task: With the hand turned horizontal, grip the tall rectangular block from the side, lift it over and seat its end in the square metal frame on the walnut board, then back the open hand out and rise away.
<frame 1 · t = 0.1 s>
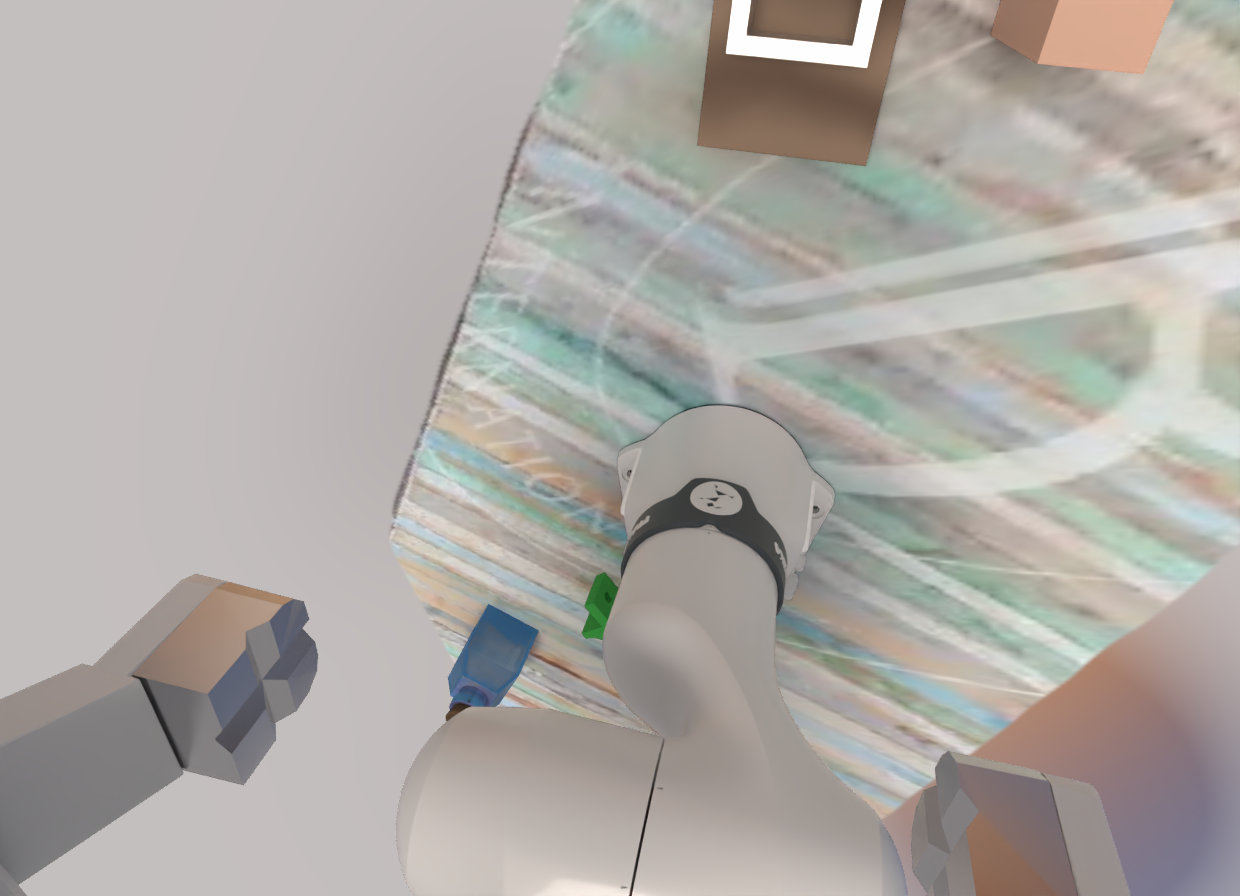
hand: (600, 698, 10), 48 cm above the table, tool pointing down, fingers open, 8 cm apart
perfume bottle: (504, 631, 85), on the table
pipe clamp: (622, 611, 79), on the table
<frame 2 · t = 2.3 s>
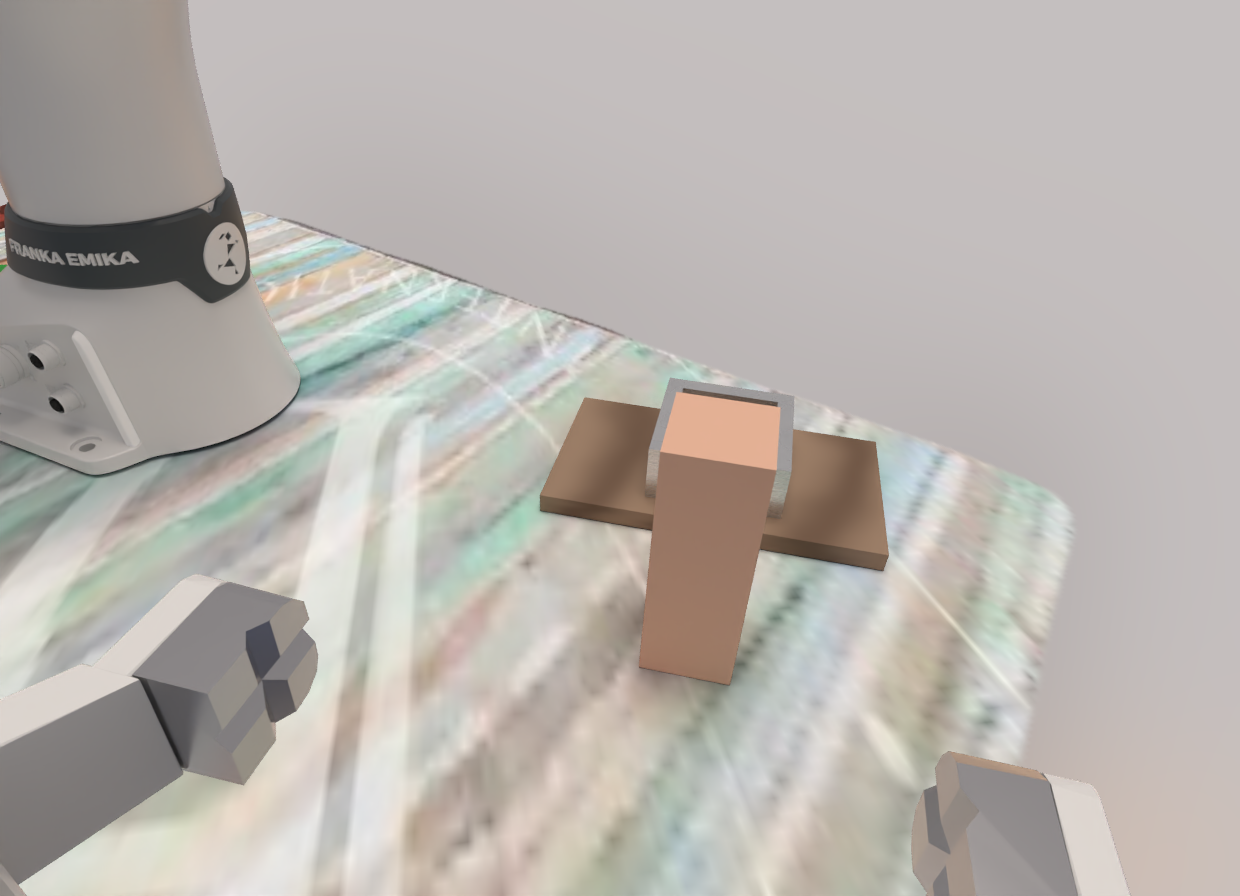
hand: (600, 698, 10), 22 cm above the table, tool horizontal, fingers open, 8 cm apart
tall rectangular block: (689, 640, 38), on the table
square metal frame: (718, 466, 47), resting on holder base
holder base: (716, 481, 48), on the table
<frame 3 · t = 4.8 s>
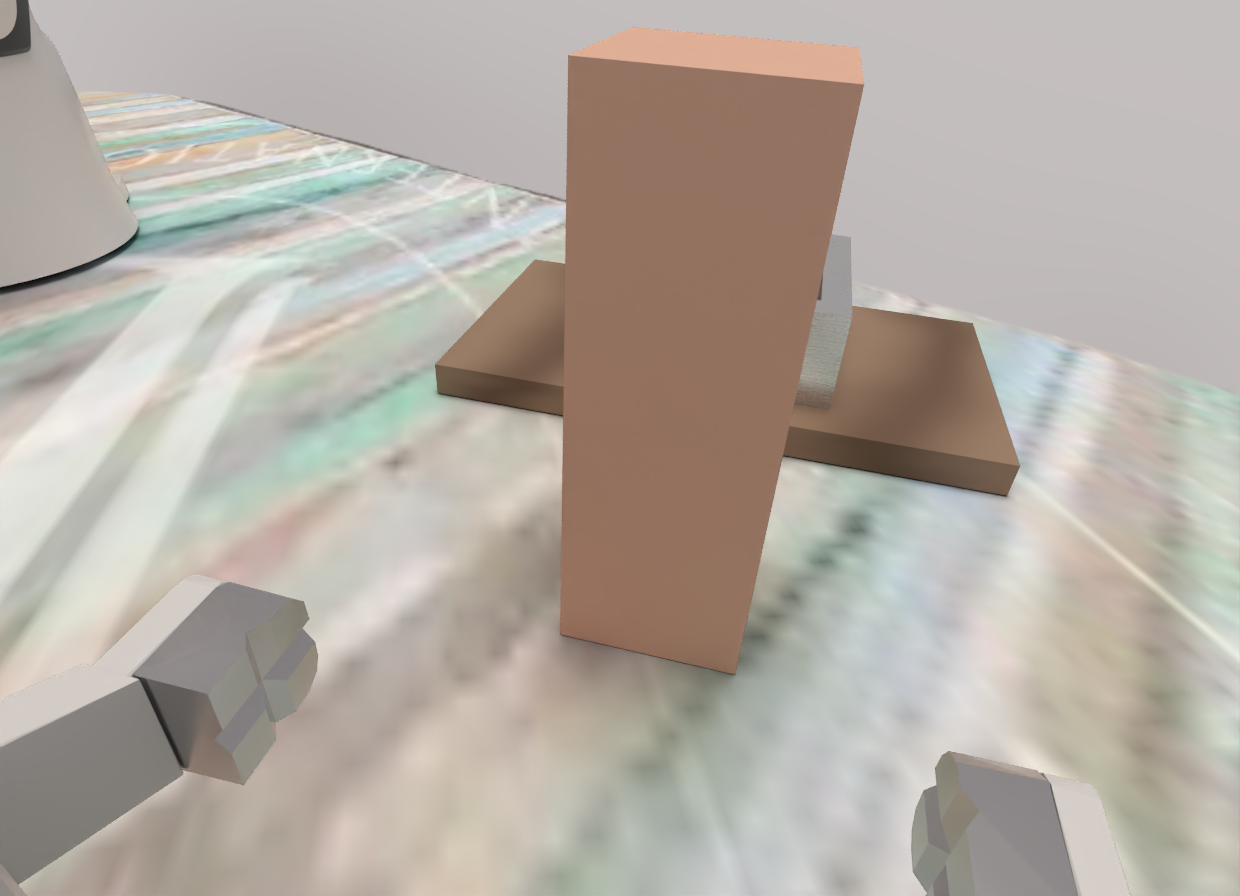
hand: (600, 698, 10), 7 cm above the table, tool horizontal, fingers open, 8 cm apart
tall rectangular block: (663, 591, 20), on the table
square metal frame: (728, 341, 30), resting on holder base
holder base: (724, 368, 31), on the table
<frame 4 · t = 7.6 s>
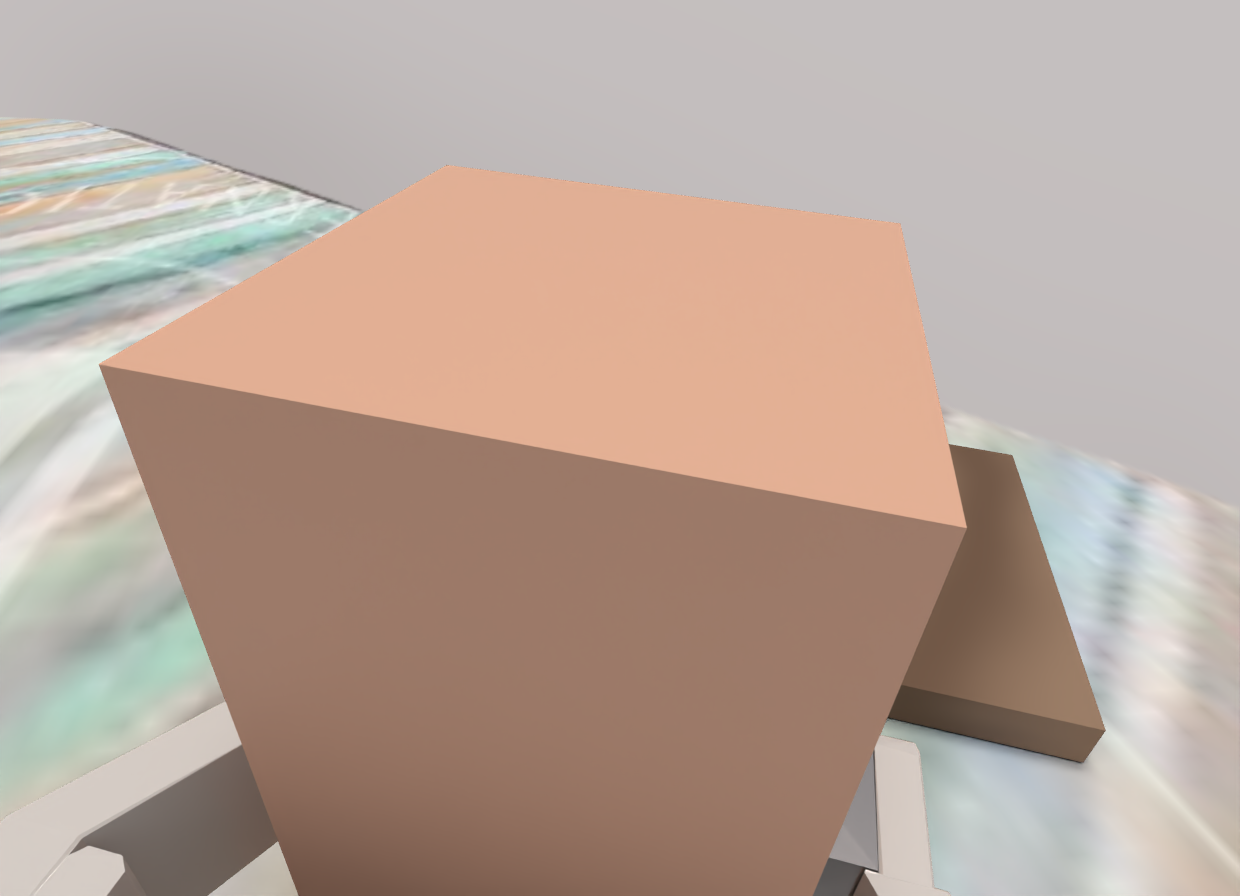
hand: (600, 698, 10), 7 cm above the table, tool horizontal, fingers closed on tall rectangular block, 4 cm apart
holder base: (690, 525, 23), on the table
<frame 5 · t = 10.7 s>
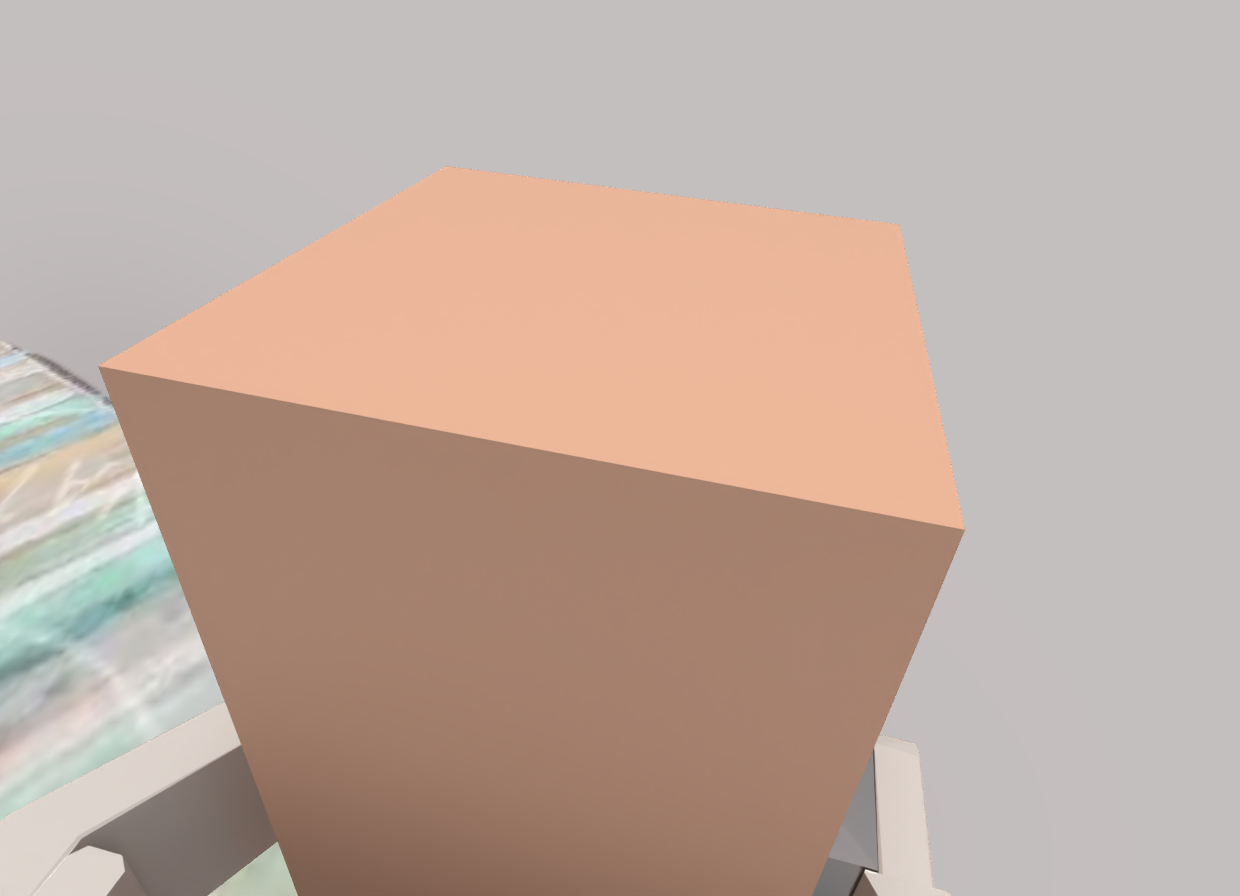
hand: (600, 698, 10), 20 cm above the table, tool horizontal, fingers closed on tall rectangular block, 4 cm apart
when the fingers open (10 cm above the table, at t = 13.9 s): tall rectangular block drops 1 cm, resting on holder base.
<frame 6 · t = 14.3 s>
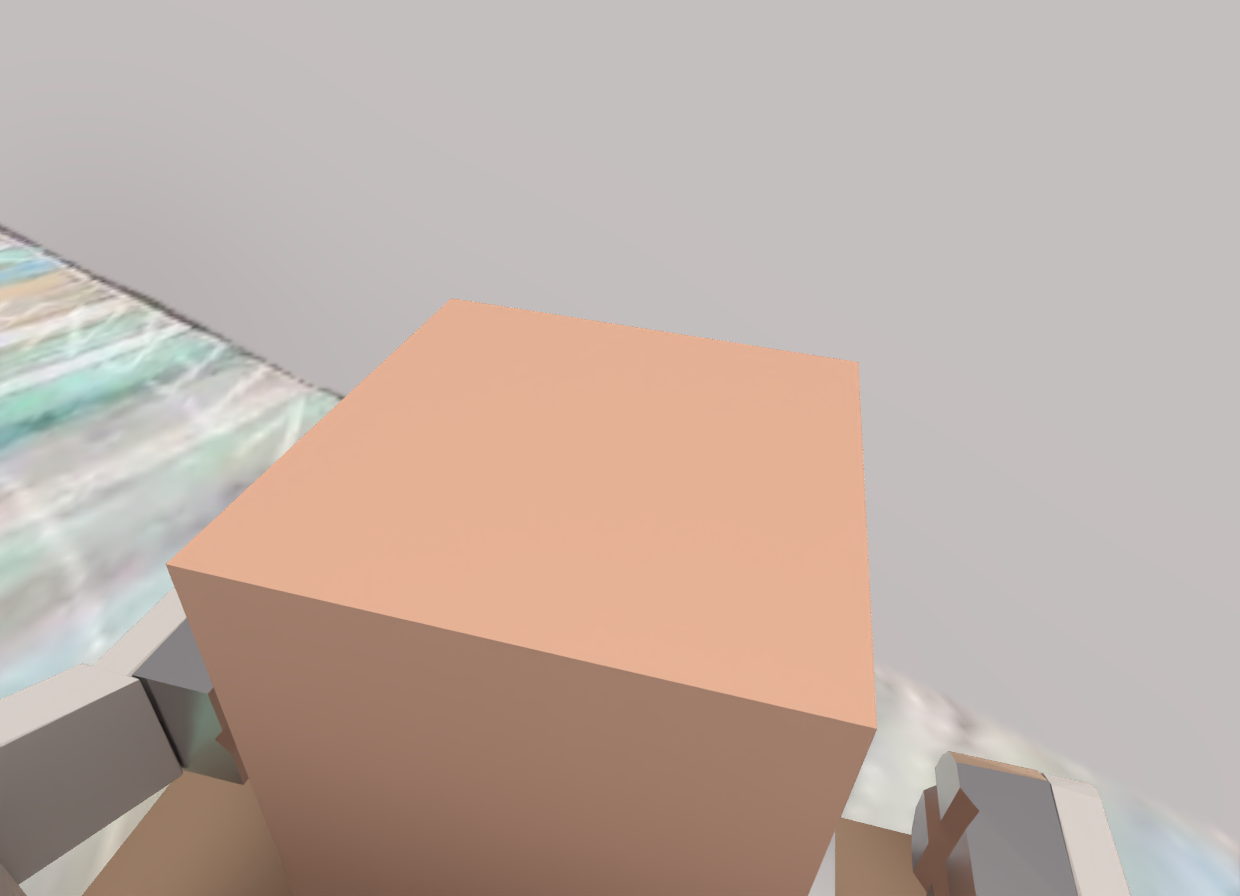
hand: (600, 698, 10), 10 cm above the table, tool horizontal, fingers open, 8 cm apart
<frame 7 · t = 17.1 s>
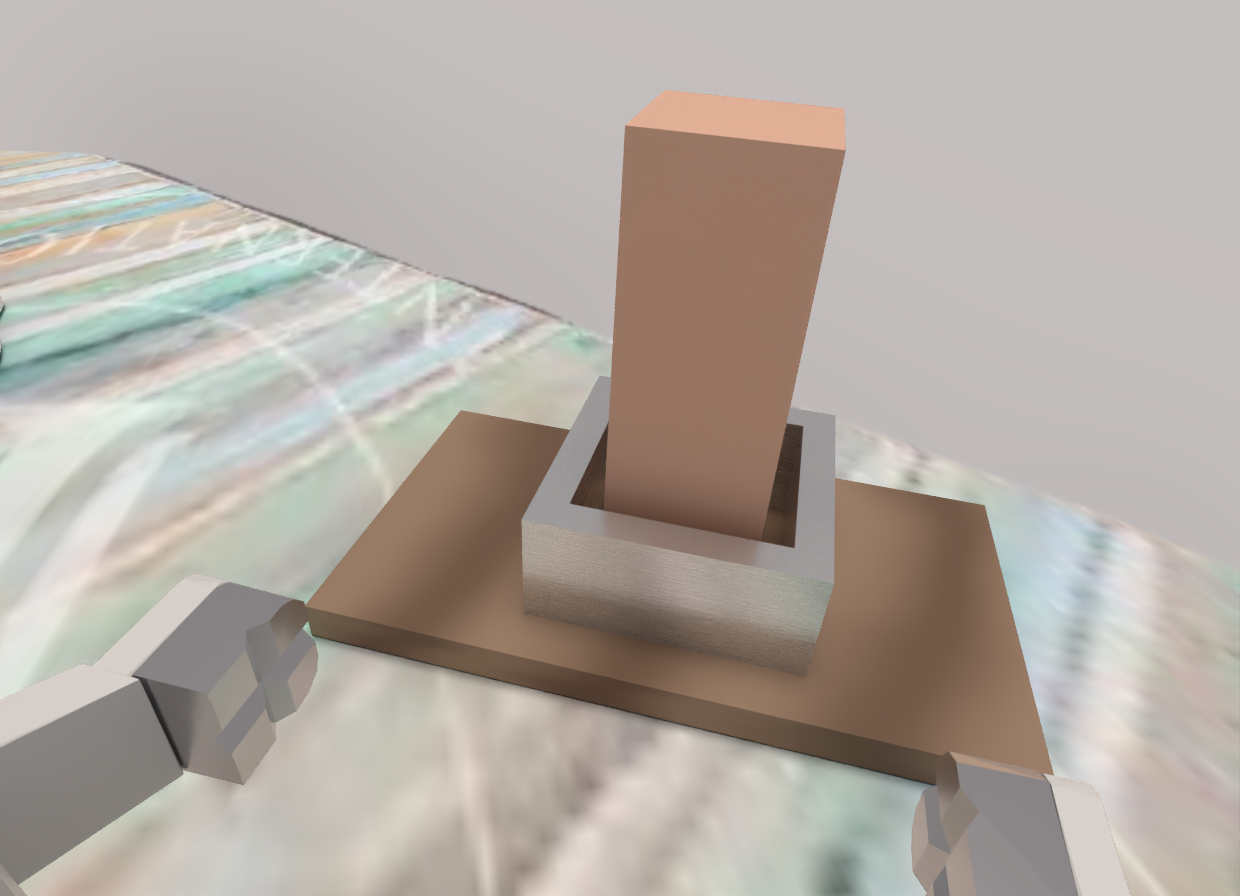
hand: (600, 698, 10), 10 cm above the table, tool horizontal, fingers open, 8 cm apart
tall rectangular block: (683, 550, 24), point 1 cm above the table, touching holder base
square metal frame: (684, 549, 24), resting on holder base
holder base: (680, 576, 25), on the table
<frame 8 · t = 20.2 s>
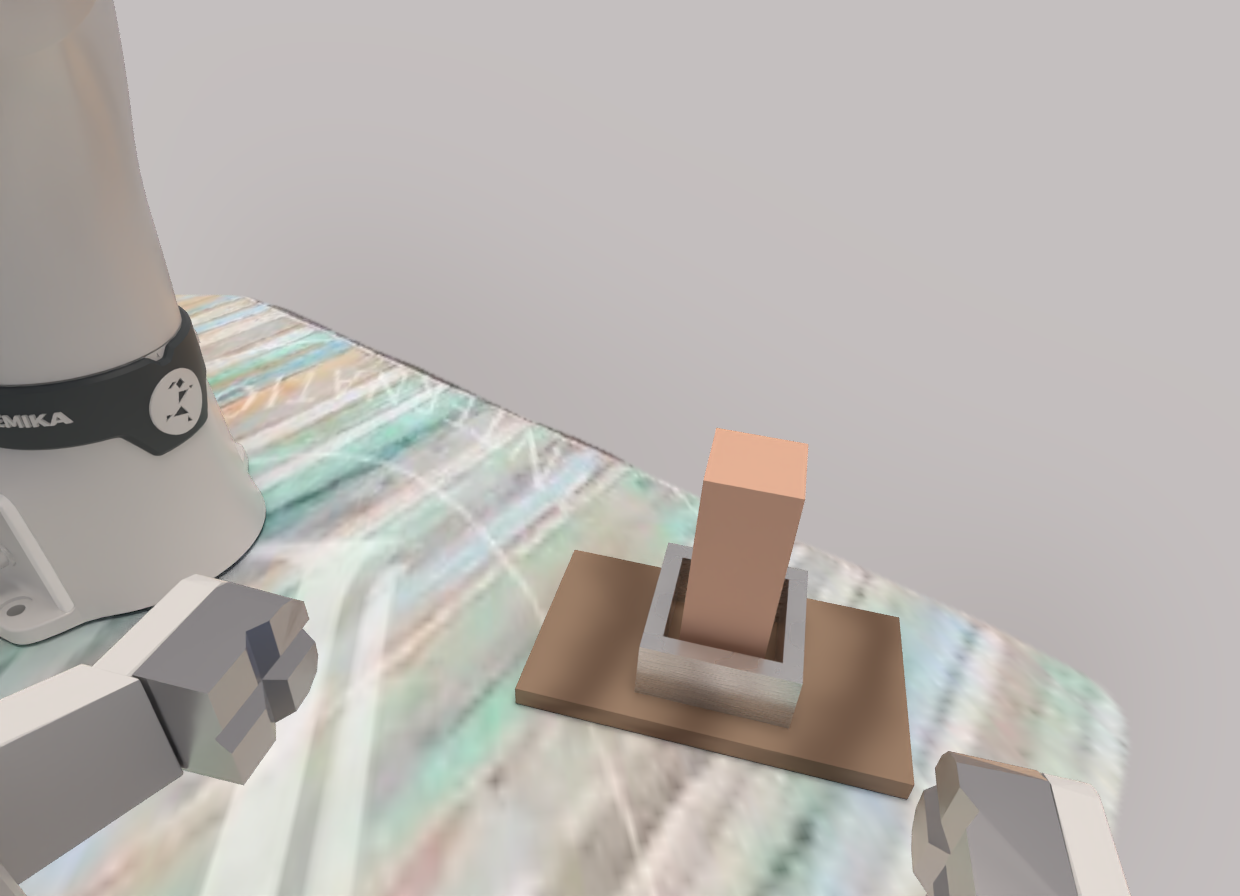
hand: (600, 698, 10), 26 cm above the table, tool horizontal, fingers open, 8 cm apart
tall rectangular block: (719, 651, 42), point 1 cm above the table, touching holder base
square metal frame: (720, 650, 42), resting on holder base
holder base: (717, 664, 43), on the table
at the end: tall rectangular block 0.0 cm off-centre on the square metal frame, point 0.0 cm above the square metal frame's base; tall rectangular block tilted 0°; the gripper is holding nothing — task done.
